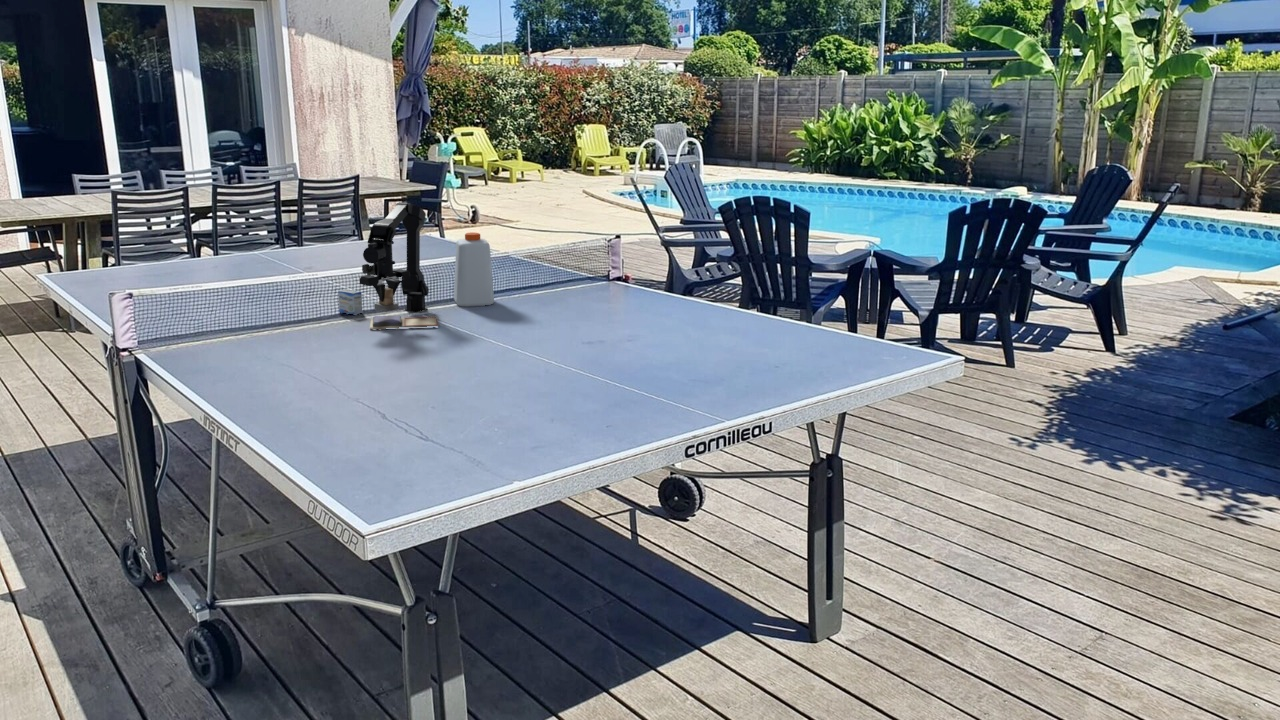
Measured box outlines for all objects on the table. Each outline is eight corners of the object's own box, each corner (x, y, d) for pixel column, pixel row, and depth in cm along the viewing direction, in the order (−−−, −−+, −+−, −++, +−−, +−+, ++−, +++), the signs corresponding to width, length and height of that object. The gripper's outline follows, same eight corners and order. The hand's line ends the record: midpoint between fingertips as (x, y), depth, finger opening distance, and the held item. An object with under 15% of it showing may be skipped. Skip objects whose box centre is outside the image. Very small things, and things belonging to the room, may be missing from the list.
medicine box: (338, 313, 382) (337, 290, 379) (347, 310, 386) (346, 288, 383) (354, 316, 378) (353, 293, 376) (363, 313, 382) (361, 291, 380)
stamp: (387, 306, 369) (386, 286, 366) (398, 308, 365) (397, 288, 363) (374, 309, 364) (373, 288, 362) (385, 311, 361) (384, 291, 358)
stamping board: (436, 320, 376) (436, 313, 375) (438, 328, 365) (438, 321, 364) (370, 321, 370) (370, 315, 370) (370, 330, 359) (369, 323, 359)
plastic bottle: (452, 299, 409) (450, 230, 401) (489, 297, 413) (488, 230, 405) (457, 307, 395) (455, 237, 387) (495, 306, 399) (494, 236, 391)
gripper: (390, 251, 371) (391, 293, 375) (348, 258, 357) (350, 301, 361) (410, 255, 365) (411, 297, 369) (368, 263, 350) (371, 306, 355)
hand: (386, 300), depth 364 cm, fingers closed on stamp, 3 cm apart
